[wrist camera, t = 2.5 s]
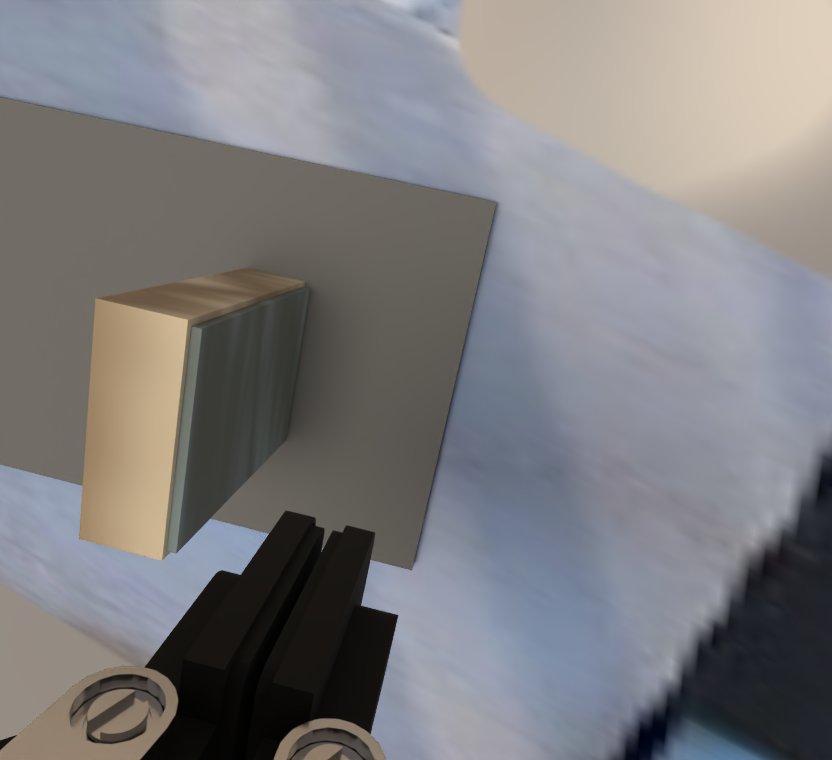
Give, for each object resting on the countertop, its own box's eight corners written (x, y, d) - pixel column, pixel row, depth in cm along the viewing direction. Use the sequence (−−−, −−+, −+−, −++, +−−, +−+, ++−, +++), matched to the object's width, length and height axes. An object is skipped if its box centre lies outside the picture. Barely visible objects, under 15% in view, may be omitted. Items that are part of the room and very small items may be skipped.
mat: (496, 202, 25) (496, 202, 24) (413, 562, 29) (411, 570, 28) (-75, 81, 26) (-88, 78, 26) (-74, 438, 31) (-85, 442, 30)
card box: (312, 282, 26) (199, 322, 16) (287, 442, 28) (171, 563, 18) (246, 268, 26) (95, 298, 16) (225, 427, 28) (79, 539, 18)
